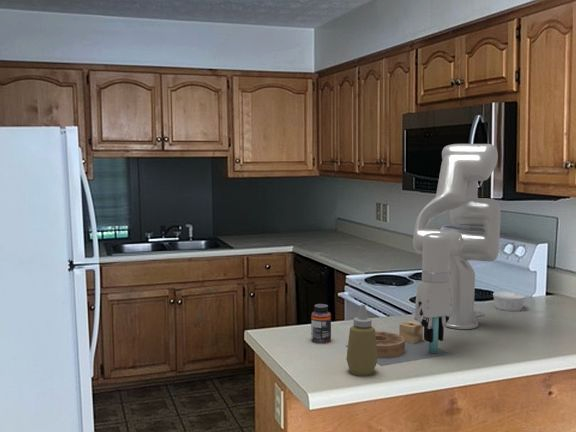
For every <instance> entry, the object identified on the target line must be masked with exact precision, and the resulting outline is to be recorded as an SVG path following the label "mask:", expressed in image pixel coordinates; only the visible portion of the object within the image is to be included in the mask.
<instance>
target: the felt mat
mask: <svg viewBox="0 0 576 432" xmlns="http://www.w3.org/2000/svg"><path fill="white" fill-rule="evenodd" d="M345 347H346V348H348V344H347V345H345ZM449 355H452V353H451V352H449V351H447V350H444V349H443V348H440V347H438V353H436V354H432V353H429V342H428V341H425V340H422V341H419V342H417V343H414V344H412V343H408V342H405V353H404V354H402V355H400V356H398V357H392V358H377V363H376V365H379V366H381V367H384V366H389V365H396V364H401V363H408V362H412V361H420V360H424V359H430V358H431V359H432V358H437V357H443V356H449Z"/></svg>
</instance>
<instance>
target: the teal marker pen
mask: <svg viewBox="0 0 576 432" xmlns="http://www.w3.org/2000/svg"><path fill="white" fill-rule="evenodd" d="M431 328H432V329H433V342H432V343H430V342H428V343H429V353H432V354H436V353H438V348H439V340H438V332H439V317H436V318H432V327H431Z"/></svg>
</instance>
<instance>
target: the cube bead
mask: <svg viewBox="0 0 576 432" xmlns="http://www.w3.org/2000/svg"><path fill="white" fill-rule="evenodd" d="M398 332H399V333H398V335H400V336H402V337H404V340H405V342H408V343H412V344H414V343H417V342H419V341H423V340H424V327H423V326H422V324H421V323H420V322H419V323H418V322H416V321H415V322H414V321H410V320H409V321H408V320H407V321H405V322H401V323H399V331H398Z"/></svg>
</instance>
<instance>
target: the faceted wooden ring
mask: <svg viewBox="0 0 576 432" xmlns="http://www.w3.org/2000/svg"><path fill="white" fill-rule="evenodd" d="M375 336H376V348H377V358H392V357H398V356H400V355H402V354H404V353H405V340H404V337H402V336H400V335H399V333H398V334H397V333H393V332H391V331H390V332H388V331H384V330H383V331H382V330H381V331H379V330H375Z"/></svg>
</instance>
